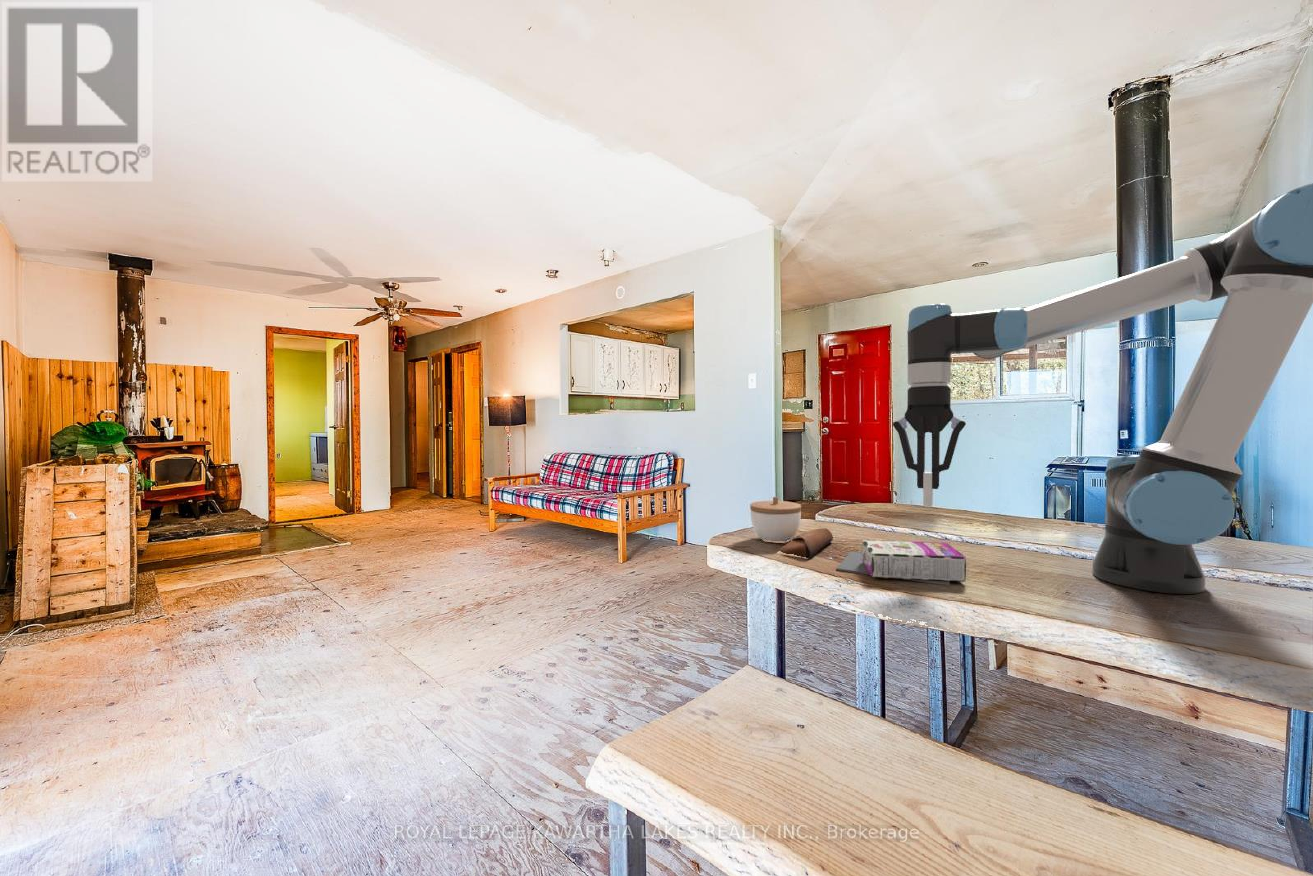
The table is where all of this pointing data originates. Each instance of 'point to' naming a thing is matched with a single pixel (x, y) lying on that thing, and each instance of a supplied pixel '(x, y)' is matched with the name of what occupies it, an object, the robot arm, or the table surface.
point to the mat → (857, 566)
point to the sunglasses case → (808, 543)
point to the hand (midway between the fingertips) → (927, 505)
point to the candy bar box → (913, 560)
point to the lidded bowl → (775, 519)
